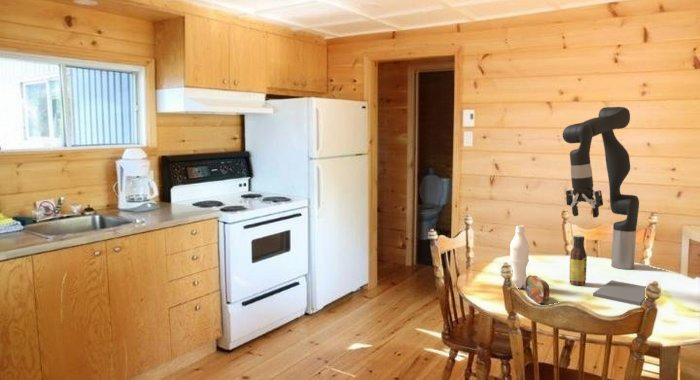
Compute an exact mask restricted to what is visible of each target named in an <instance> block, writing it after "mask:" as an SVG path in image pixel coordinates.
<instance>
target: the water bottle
mask: <svg viewBox="0 0 700 380" xmlns="http://www.w3.org/2000/svg"><path fill="white" fill-rule="evenodd" d="M525 232H526V231H525V226H524V225H520V224H519V225H516V226H515V235H514V236H513V239H511V242H510V245H509V246H510V247H509V248H510V249H509V252H510V253H509V255H510V257H509V261H510V264H511V270H512V269H513V277H512V280H513V282H514V283H515V284H516V286H517V287H518V288H519V289H518V290H520V289H526V286H525V285H526V279H527V277H528V276H527V267H528V265H529V261H530V260H529V251H530V250H529V248H530V244H529V242H528V240H527V238H526V236H525Z"/></svg>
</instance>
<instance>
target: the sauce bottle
mask: <svg viewBox="0 0 700 380" xmlns="http://www.w3.org/2000/svg"><path fill="white" fill-rule="evenodd" d="M584 240H585V236H584V235H579V234H576V235H573V248H572V249H571V250H570V253H569V254H570V255H569V257H570V258H569V283H570V284H571V285H573V286H584V285H586V281H587V265H588V264H587V262H588V261H587V260H588V259H587V257H588V255H587V252H586V249H585V247H584V246H585V245H584V244H585V241H584Z"/></svg>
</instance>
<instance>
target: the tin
mask: <svg viewBox="0 0 700 380" xmlns="http://www.w3.org/2000/svg"><path fill="white" fill-rule="evenodd" d="M525 286H526V288H525V292H526V295H527V297H528V298H530V299H531V300H533V301H534V302H535V303H537V304H547V303H548V302H549V299H550V291H551V289H550V285H549V284H548V282H547V281H546V280H544V279H542V278H541V277H539V276H537V275H531V274H530V275H529V274H528V276H527V279H526V285H525Z"/></svg>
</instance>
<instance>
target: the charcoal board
mask: <svg viewBox="0 0 700 380" xmlns="http://www.w3.org/2000/svg"><path fill="white" fill-rule="evenodd" d="M646 287H647V286H645V285H641V284H635V283H628V282H624V281H623V282H622V281H616V280H609V281H608V282H607V283H606V284H604V285H603V286H601V287H599V288H598V289H597V290H595V291H594V292H593V293H592V297H596V298H600V299H606V300H610V301H616V302H620V303H624V304H625V303H626V304H630V305H636V306H639V307H640V306H641V305H643V304H644V302H645V301H644V300H645V298H646V297H645V288H646ZM643 301H644V302H643Z"/></svg>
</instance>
